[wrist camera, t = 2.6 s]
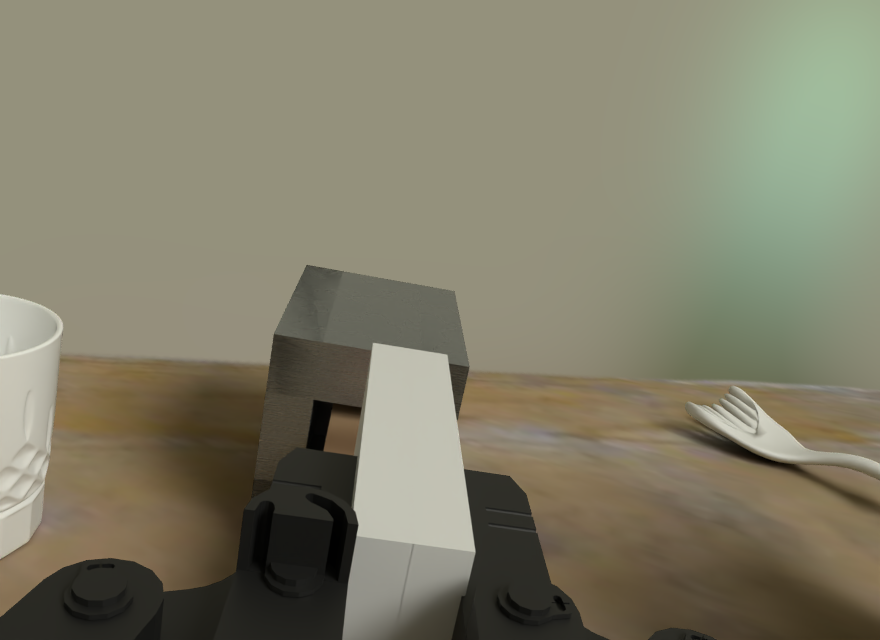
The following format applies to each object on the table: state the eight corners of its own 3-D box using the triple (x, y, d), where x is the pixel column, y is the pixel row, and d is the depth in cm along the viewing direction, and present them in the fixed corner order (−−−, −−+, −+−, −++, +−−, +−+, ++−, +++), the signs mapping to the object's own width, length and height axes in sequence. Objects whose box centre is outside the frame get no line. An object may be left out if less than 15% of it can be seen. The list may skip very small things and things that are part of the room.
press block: (424, 565, 39) (469, 366, 36) (245, 539, 38) (273, 334, 35) (420, 450, 50) (454, 291, 47) (282, 428, 50) (306, 264, 46)
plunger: (381, 660, 27) (402, 566, 26) (268, 646, 27) (283, 549, 26) (390, 467, 40) (403, 397, 39) (312, 455, 40) (324, 384, 38)
